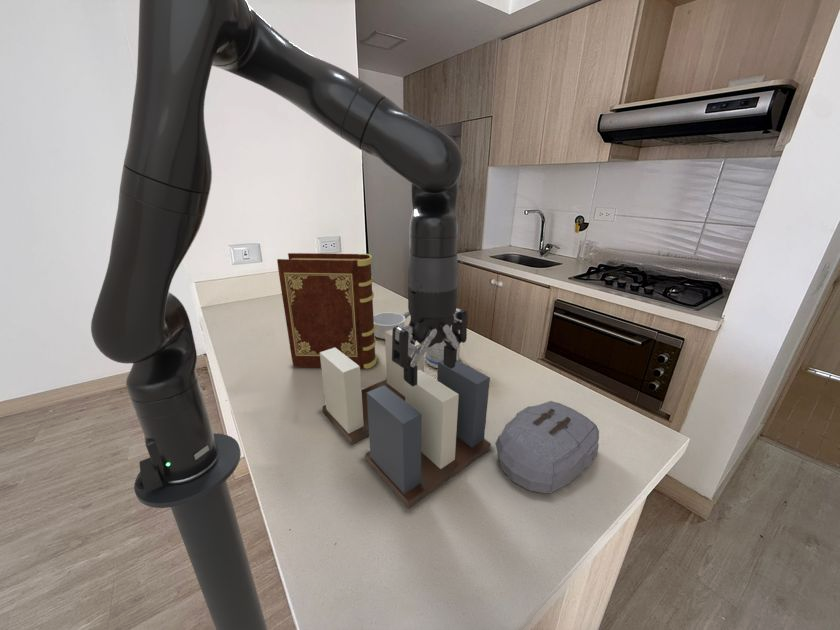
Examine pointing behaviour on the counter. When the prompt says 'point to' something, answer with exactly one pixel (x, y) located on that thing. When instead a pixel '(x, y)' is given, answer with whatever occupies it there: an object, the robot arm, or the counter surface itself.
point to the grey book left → (395, 437)
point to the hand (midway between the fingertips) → (430, 374)
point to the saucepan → (388, 322)
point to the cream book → (435, 417)
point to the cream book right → (397, 366)
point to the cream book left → (342, 389)
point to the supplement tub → (438, 353)
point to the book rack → (429, 471)
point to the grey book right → (467, 399)
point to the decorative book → (328, 306)
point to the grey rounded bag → (547, 446)
